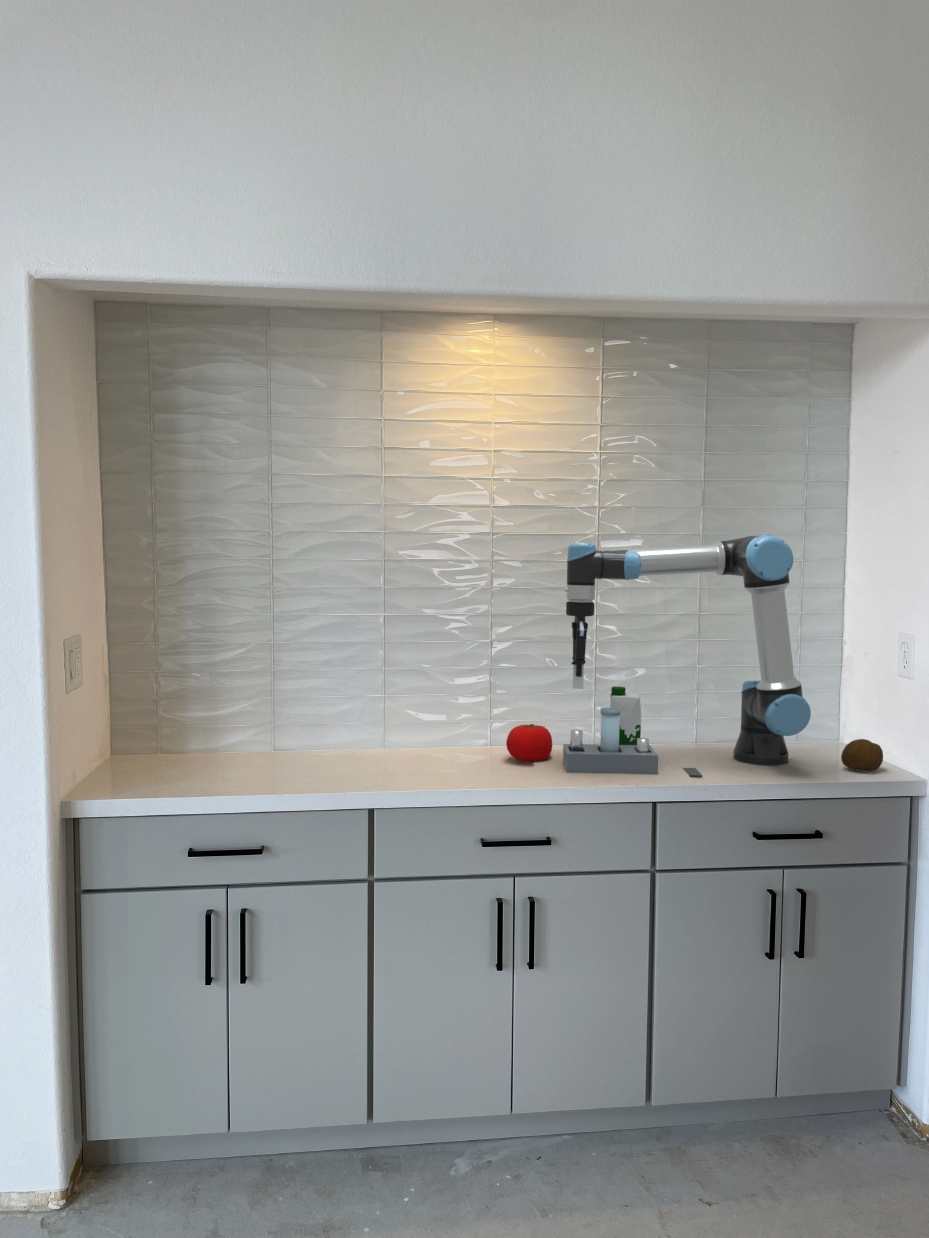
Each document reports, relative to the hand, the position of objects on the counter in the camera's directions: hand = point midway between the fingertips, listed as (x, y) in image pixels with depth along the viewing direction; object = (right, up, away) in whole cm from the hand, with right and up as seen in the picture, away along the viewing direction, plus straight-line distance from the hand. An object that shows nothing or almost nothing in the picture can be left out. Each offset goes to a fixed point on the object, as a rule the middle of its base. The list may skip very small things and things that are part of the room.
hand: (577, 688), depth 243 cm
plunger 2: (+18, -21, +1) cm, 27 cm away
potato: (+80, -23, +6) cm, 83 cm away
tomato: (-12, -22, +13) cm, 28 cm away
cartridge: (+9, -22, +2) cm, 23 cm away
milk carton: (+16, -22, +20) cm, 34 cm away
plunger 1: (0, -18, +2) cm, 19 cm away
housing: (+9, -23, +2) cm, 24 cm away
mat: (+29, -23, 0) cm, 37 cm away
